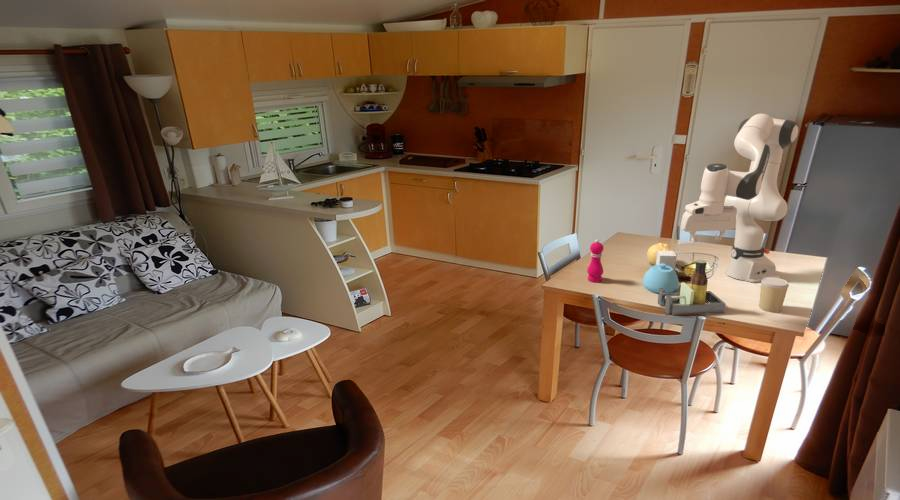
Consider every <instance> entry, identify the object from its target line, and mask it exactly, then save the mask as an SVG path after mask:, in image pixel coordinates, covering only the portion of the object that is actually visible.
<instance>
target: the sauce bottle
mask: <svg viewBox="0 0 900 500" xmlns="http://www.w3.org/2000/svg"><path fill="white" fill-rule="evenodd" d="M707 264H708V262H707V261H706V260H704V259H697V260H695V268H694V272H693V273H692V275H691V277H690V283H689V287H690V288H691V289H692V290H693V291H694V298H693V304H704V303H706V301H705V299H706V291H708V276H707V273H706V270H707V269H706V267H707Z"/></svg>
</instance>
